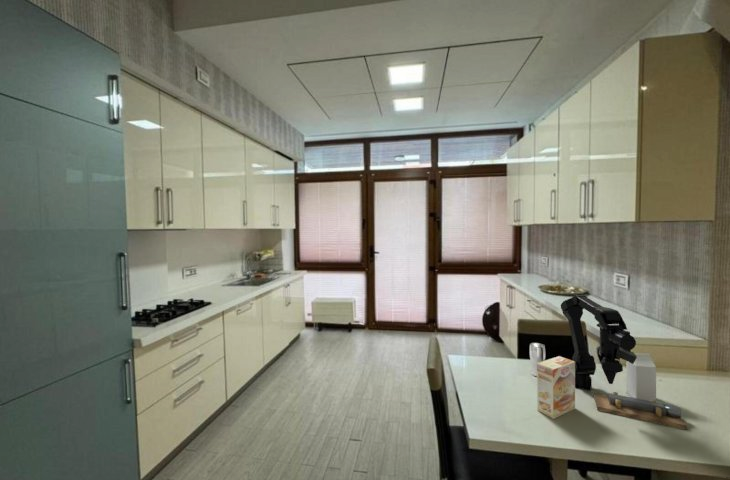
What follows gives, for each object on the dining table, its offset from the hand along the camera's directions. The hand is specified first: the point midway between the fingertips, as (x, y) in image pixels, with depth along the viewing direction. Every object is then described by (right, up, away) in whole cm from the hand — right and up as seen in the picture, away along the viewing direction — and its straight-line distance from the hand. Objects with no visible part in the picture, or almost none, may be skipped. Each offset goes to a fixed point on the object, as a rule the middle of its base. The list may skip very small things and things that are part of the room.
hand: (608, 378), depth 127 cm
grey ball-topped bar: (+11, -10, -4) cm, 15 cm away
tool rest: (+9, -12, -3) cm, 15 cm away
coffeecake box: (-21, -13, 0) cm, 25 cm away
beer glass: (-12, -12, +31) cm, 35 cm away
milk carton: (+19, -12, +7) cm, 24 cm away
